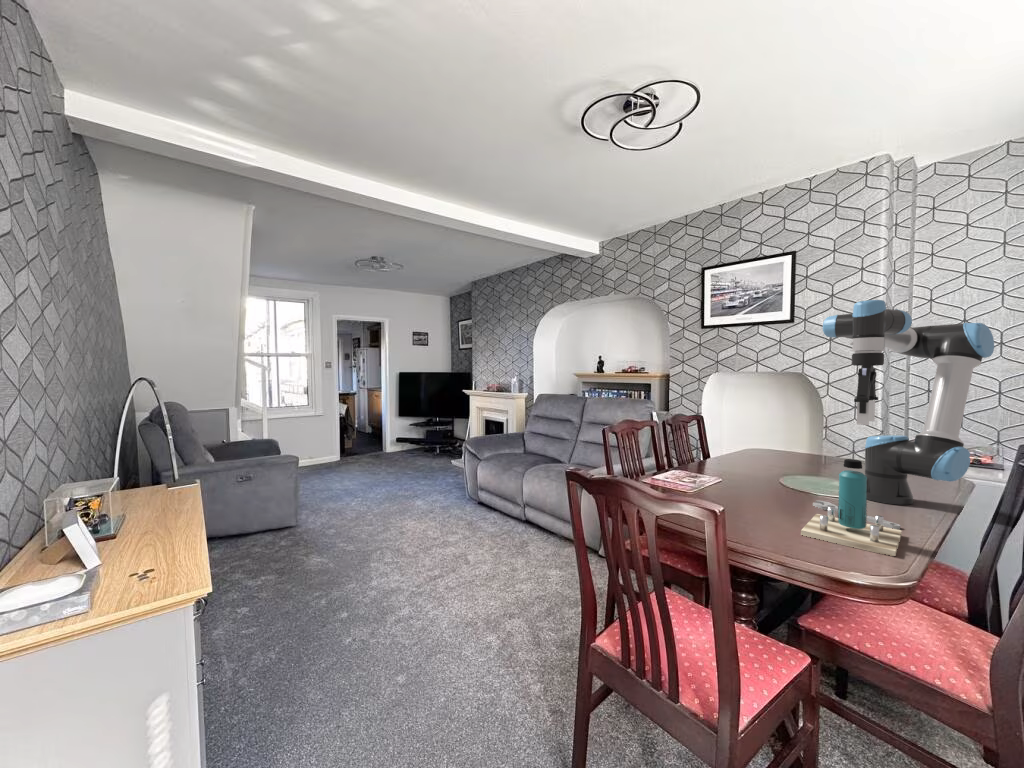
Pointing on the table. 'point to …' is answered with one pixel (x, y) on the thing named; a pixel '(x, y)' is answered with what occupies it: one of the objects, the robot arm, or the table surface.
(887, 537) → the birch board
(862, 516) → the beverage bottle
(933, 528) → the table surface
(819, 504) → the adjustable wrench
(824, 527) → the steel pegs
